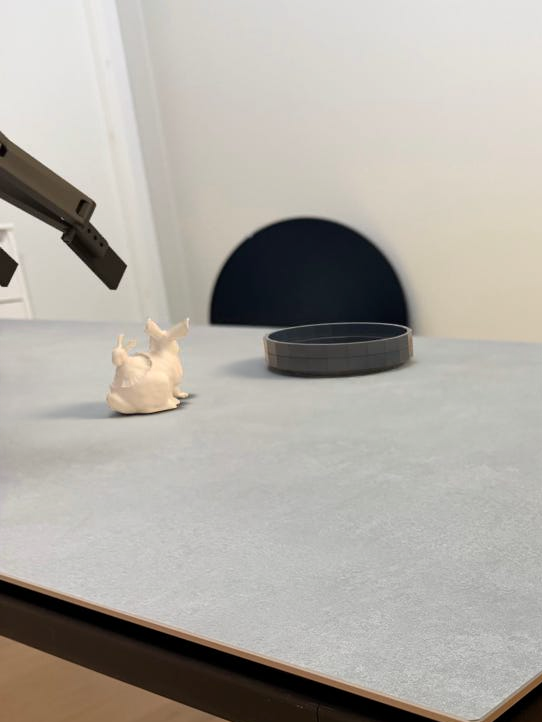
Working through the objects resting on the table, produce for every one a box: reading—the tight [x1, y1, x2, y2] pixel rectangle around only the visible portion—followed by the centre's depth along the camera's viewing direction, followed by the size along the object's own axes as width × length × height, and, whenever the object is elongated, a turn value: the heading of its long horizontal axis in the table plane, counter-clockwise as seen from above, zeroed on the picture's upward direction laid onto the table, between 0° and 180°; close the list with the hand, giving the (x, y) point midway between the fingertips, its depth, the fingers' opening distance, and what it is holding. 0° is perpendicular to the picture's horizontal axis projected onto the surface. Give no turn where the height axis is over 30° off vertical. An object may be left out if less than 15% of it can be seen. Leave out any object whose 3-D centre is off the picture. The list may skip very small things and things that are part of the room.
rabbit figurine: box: [105, 316, 190, 415], centre depth 102 cm, size 12×8×10 cm, turn 146°
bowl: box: [262, 322, 414, 377], centre depth 125 cm, size 19×19×4 cm
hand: (63, 277), depth 89 cm, fingers open, 13 cm apart
